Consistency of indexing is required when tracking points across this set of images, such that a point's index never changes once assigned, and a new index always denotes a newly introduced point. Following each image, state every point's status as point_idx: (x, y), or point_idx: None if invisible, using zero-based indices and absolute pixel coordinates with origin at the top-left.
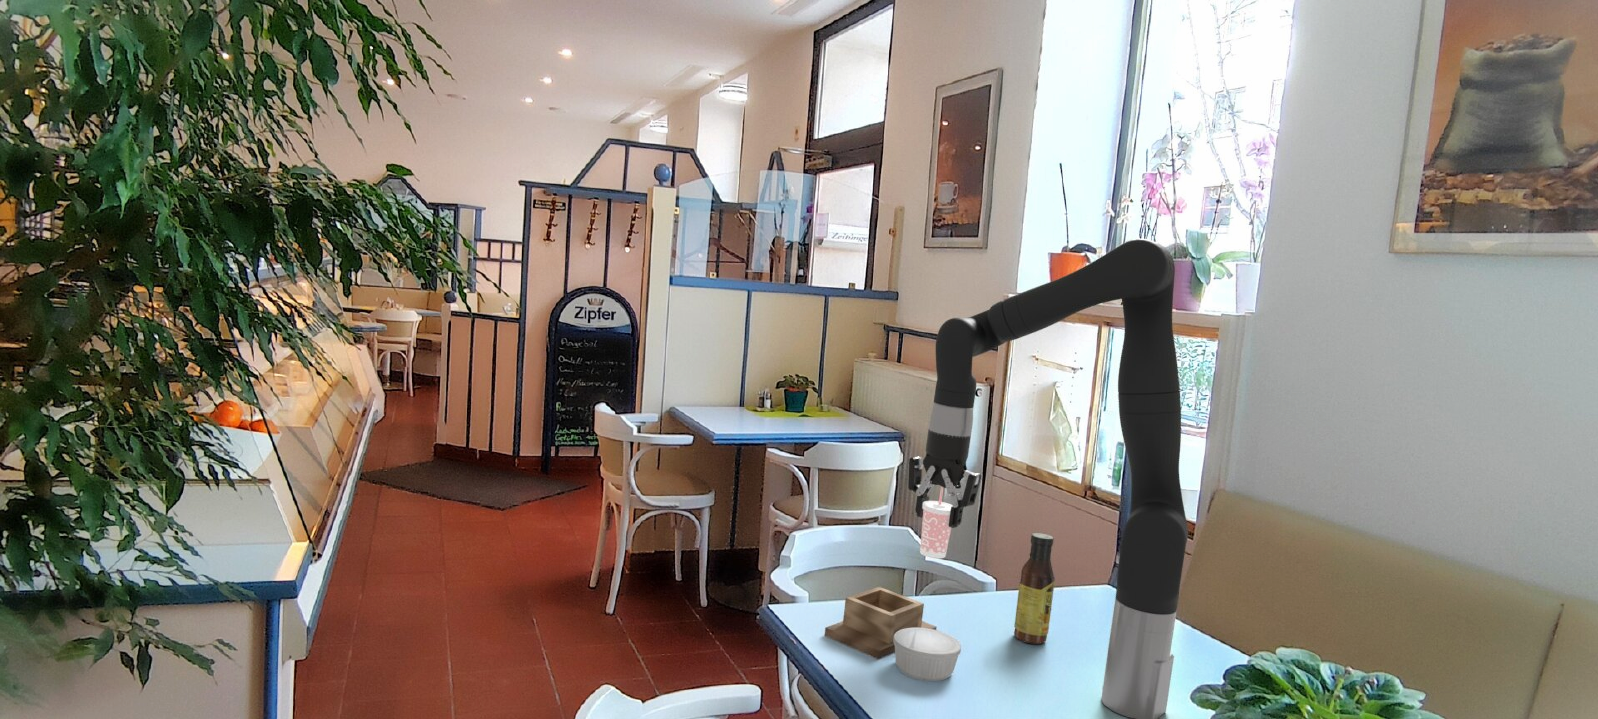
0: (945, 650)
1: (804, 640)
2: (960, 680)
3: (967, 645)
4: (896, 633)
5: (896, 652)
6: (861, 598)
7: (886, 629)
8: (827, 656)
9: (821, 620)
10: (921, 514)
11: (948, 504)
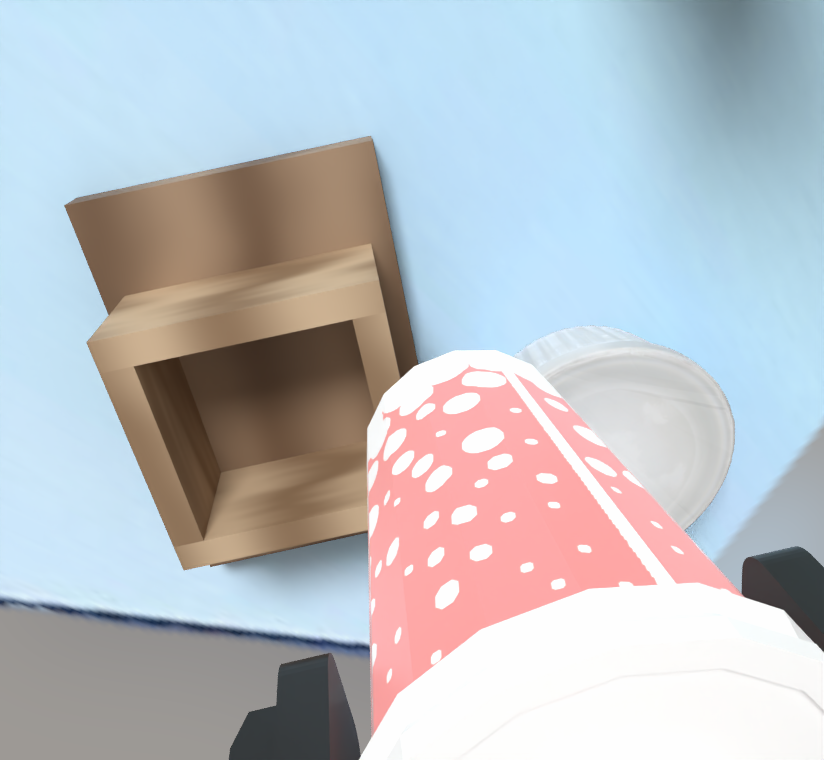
0: (705, 467)
1: (226, 615)
2: (693, 357)
3: (522, 83)
4: None
5: None
6: (189, 493)
7: None
8: (355, 613)
9: (82, 486)
10: (354, 752)
11: (635, 672)
